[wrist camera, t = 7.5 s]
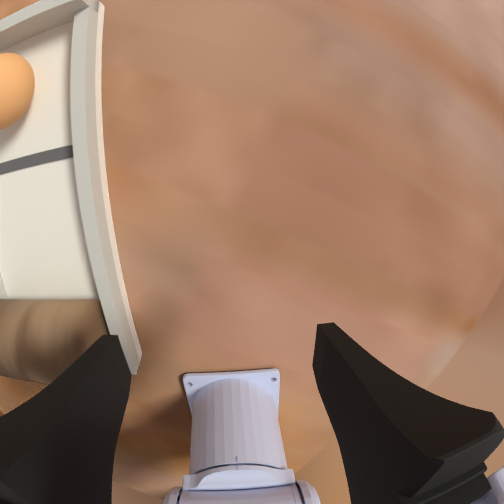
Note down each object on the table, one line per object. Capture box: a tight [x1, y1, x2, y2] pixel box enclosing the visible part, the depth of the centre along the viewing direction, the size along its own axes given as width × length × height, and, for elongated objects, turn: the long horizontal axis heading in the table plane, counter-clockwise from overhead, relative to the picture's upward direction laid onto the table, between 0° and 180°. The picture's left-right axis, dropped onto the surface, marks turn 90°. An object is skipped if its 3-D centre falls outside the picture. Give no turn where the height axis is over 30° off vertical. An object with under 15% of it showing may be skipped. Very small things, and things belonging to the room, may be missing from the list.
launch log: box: [0, 299, 110, 384], centre depth 17 cm, size 6×10×6 cm, turn 92°
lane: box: [0, 0, 142, 375], centre depth 16 cm, size 26×12×4 cm, turn 2°
